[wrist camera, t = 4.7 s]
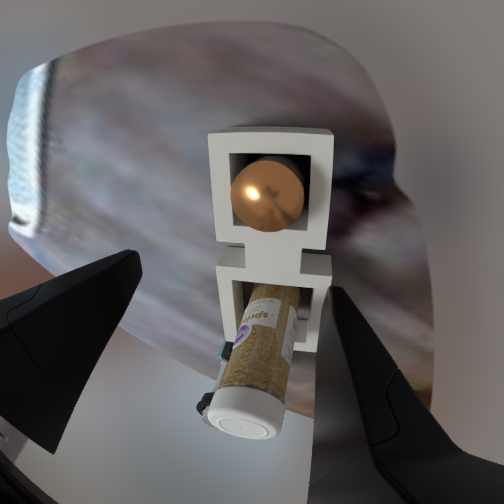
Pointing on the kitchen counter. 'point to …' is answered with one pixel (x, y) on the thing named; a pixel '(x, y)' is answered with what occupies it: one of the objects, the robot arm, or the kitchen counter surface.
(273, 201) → the copper and black cylinder
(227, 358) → the push button
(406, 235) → the kitchen counter surface
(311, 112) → the kitchen counter surface
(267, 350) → the sprinkles bottle
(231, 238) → the housing
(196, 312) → the kitchen counter surface
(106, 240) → the kitchen counter surface
